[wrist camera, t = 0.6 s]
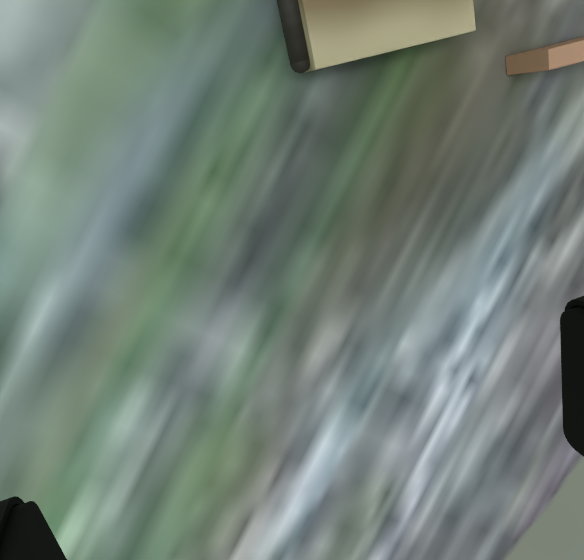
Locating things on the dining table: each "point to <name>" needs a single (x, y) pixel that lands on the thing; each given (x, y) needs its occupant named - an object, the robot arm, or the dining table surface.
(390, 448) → the dining table surface
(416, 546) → the dining table surface
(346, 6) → the beige rectangular block
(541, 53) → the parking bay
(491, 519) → the dining table surface
